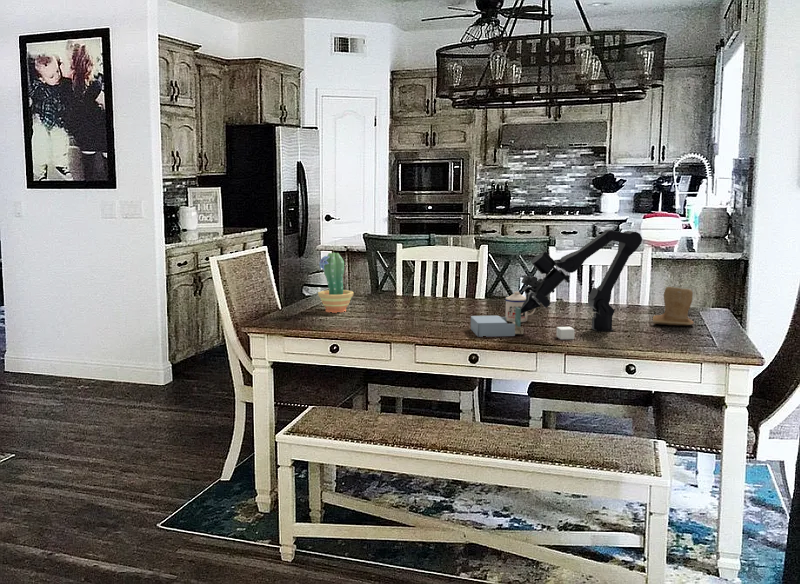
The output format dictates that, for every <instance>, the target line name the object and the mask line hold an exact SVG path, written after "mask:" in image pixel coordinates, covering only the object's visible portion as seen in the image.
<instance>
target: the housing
mask: <svg viewBox="0 0 800 584" xmlns="http://www.w3.org/2000/svg"><path fill="white" fill-rule="evenodd" d="M470 330H471V331H472V332H473V333H474V334H475V335H476V337H478V338H479V337H482V338H484V337H483V336H486V337H515V336H516V334H515V324H513V323H508V321H506V316H499V315H471V316H470ZM486 337H485V338H486Z"/></svg>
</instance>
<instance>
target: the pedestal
mask: <svg viewBox="0 0 800 584" xmlns="http://www.w3.org/2000/svg"><path fill="white" fill-rule="evenodd" d="M555 336H556V338H558V339H559V340H574V339H575V328H573V327H572V326H556V335H555Z"/></svg>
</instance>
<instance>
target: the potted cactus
mask: <svg viewBox="0 0 800 584" xmlns="http://www.w3.org/2000/svg"><path fill="white" fill-rule="evenodd" d="M318 265H319V270H323V273H324V276H325V279H326V282H327V287H328V289H327V290H322V291H318V292H317V295H318V298H320V299H321V303H322V304H323V307H324V308H325V312H326V313H330V312H332V314H333V313H335V314H337V312H340V313H345V312H347V308H348V306H349V304H350V302H351V300H352V297H354V292H353V291H352V290H348V289H347V290H346V289H344V283H343V280H344V279H343V277H344V273H345V261H344V259H343V257H342V256H341V255H340V253H339V252H328V254H327V255H325V256H323V257H321V258H320V261H319V264H318ZM344 311H345V312H344Z"/></svg>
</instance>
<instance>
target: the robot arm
mask: <svg viewBox="0 0 800 584" xmlns="http://www.w3.org/2000/svg"><path fill="white" fill-rule="evenodd" d="M610 242H618V246H617V252H616V255H614V258H613V260H612V262H611V264H610V266H609V268H608V269H607V271H606V273H605V275H604V277H603V279H602V281H601V283H600V284H599V286H598V287H595V286H593V287H592V288H591V291H590V293H589V294H588V295H587V297H588V299H587V303H588V305H589V308H591V309H592V312H593V315H592V316H593V317H592V318H591V329H592V330H594V331H595V332H614V329H613V316H614V313H615V309H614V308H613V306H611V305H610V302H611V300H612V299H611V298H612V291H613V288H614V287H615V284H616V283H617V281H618V278H619V277H620V275H621V273H622V271H623V269H624V268H625V266H626V263H627V262H628V260H629V258H630V256H632V254H634V253H635V252H636V251H637V250H638V248H639V247H640V245H641V244H642V243H643V237H642V235H641V233H639V232H638V231H633V230H626V231H622V232H621V231H616V230H614V229H609V228H608V229H605V230H604V231H603V232H602V233H601V234H599V235H598V236H596V237H595V238H594V239H592V240H590V241H589V242H588V243H586V244H585V245H584V246H582V247H580V249H579V248H578V250H576V251H573V252H570V253H567V254H566V255H563V256H562V257H561V258H559V259H553V258H552V257H551V256H550V254H549V253H548V252H547V251H546V250H544V251H542V252H541V253H539V254H538V255H536V256H535V257H533V259H532V260H531V262H530V264H531V265H532V266H533V267H534V269H536V270H537V272H539V273H540V274H541V275H544V274H545V276H544V277H543V278H539V279H538V277H536V276H534V275H532V276H529V275H526V274H524V276H523V278H522V280H521V283H522V285H526V286H524V287H523V288H522V291H523V292H524V294H525V297H526V300H525V301H524V303H523V305H522V307H521V308H520V309H521V314H522V313H524V312H527V313H528V312H529V311H531V310H532V311H533V310H534V309H535V308H536V309H537V308H540V307H541V305H542V306H543V307H544V308H545V309H547V308H548V307H549V306H550V305H551V302H550V301H551V300H550V299H549V298H548V296H549V295H550V294H551V293H554V292H556V288H557V287H558V286H560V284H562V283H563V282H564V281H565V282H566V283H568V284H570V278H571V277H570V275H569V274H566V273H570V274H572V273H574V272H575V273H576V271H578V269H579V268H581V266H583V264H584V263H585V261H586V260H587V259H588V258H590V257H591V256H593V255H594V254H596V253H597V252H598V251H600V250H601V249H603V248H604V247H606V245H608V244H610ZM557 268H559V269H557ZM565 272H566V273H565ZM536 309H535V310H536Z"/></svg>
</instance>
